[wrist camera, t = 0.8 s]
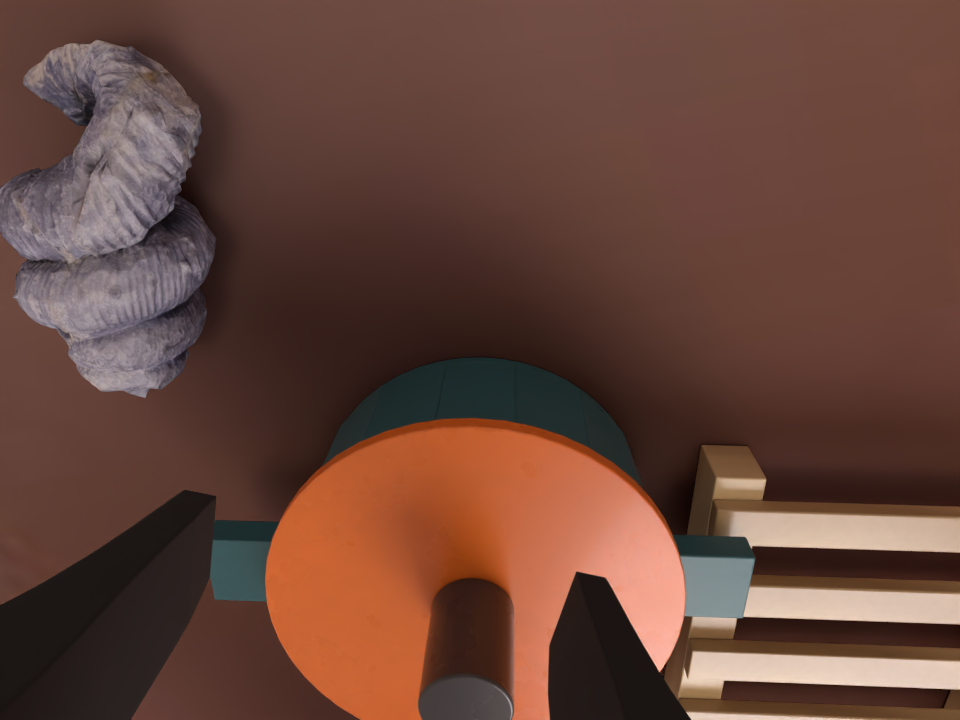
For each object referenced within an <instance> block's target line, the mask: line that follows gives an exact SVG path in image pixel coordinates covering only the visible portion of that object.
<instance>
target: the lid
mask: <svg viewBox="0 0 960 720" xmlns="http://www.w3.org/2000/svg"><path fill="white" fill-rule="evenodd" d="M576 571H577V572H582V573H586V574H591V575H596V576H601V577H606V579H607V580H608V582H609V584H610V585H611V587H612V589H613V591H614V593H615V595H616V597H617V598H618V600H619V602H620V604H621V606H622V608H623V610H624V611H625V613H626V615H627V617H628V619H629V620H630V622H631V624H632V626H633V628H634V629H635V631H636V633H637V635H638V637H639V638H640V640H641V642H642V644H643V645H644V647H645V649H646V650H647V652H648V654H649V655H650V657H651V659H652V660H653V662H654V664H655V665H656V667H657V669H658V670H659V672H661V670H662V668H663V667H664V665H665V664H666V662H667V661H668V659H669V658H670V656H671V654H672V651H673V649H674V647H675V645H676V642H677V640H678V638H679V635H680V631H681V627H682V623H683V619H684V615H685V604H686V585H685V575H684V569H683V566H682V562H681V558H680V555H679V551H678V548H677V545H676V541H675V539H674V537H673V535H672V533H671V530H670V528H669V526H668V524H667V522H666V520H665V518H664V517H663V515H662V514H661V512H660V511H659V509H658V508H657V506H656V505H655V503H654V502H653V500H652V499H651V498H650V497H649V496H648V495H647V494H646V492H645V491H644V490H643V489H642V488H641V487H640V486H639V485H638V484H637V483H636V481H635V480H633V479H632V478H631V477H630V476H629V475H627V474H626V473H625V472H624V471H623V470H621V469H620V468H619V467H618V466H616V465H615V464H614V463H613V462H611V461H609V460H608V459H606V458H605V457H603V456H601V455H600V454H598V453H597V452H595V451H593V450H592V449H590V448H588V447H586V446H584V445H582V444H580V443H578V442H575V441H573V440H571V439H569V438H567V437H565V436H562V435H559V434H556V433H553V432H550V431H547V430H544V429H541V428H538V427H535V426H530V425H525V424H520V423H515V422H510V421H505V420H493V419H481V418H457V419H440V420H433V421H427V422H420V423H414V424H410V425H406V426H403V427H399V428H395V429H392V430H388V431H385V432H383V433H380V434H378V435H375V436H373V437H371V438H368V439H366V440H363V441H361V442H359V443H357V444H355V445H354V446H352V447H350V448H349V449H347V450H345V451H343V452H342V453H340V454H338V455H336V456H335V457H334V458H333V459H331V460H330V461H329V462H327V463H326V464H325V465H324V466H322V467H321V468H320V469H319V470H317V471H316V472H315V473H314V474H313V475H312V476H311V477H310V478H309V479H308V480H307V482H306V483H305V484H304V485H303V486H302V487H301V488H300V489H299V490H298V492H297V493H296V495H295V496H294V498H293V499H292V501H291V502H290V503H289V505H288V506H287V508H286V510H285V512H284V514H283V516H282V518H281V520H280V522H279V524H278V527H277V529H276V531H275V533H274V535H273V537H272V541H271V545H270V548H269V552H268V556H267V562H266V573H265V586H266V599H267V604H268V609H269V613H270V617H271V621H272V623H273V626H274V628H275V631H276V633H277V635H278V638H279V640H280V642H281V644H282V645H283V647H284V649H285V651H286V652H287V654H288V656H289V657H290V659H291V660H292V662H293V663H294V664H295V665H296V667H297V668H298V669H299V670H300V672H301V673H302V674H303V675H304V677H305V678H306V679H308V680H309V681H310V682H311V683H312V684H313V685H314V686H315V687H316V688H317V689H318V690H319V691H320V692H321V693H322V694H323V695H325V696H326V697H327V698H329V699H330V700H331V701H332V702H334V703H335V704H336V705H338V706H339V707H341V708H342V709H344V710H345V711H347V712H349V713H350V714H352V715H354V716H355V717H357V718H359V719H361V720H550V714H549V703H548V666H549V644H550V642H551V639H552V636H553V633H554V631H555V628H556V625H557V623H558V620H559V617H560V614H561V612H562V609H563V606H564V603H565V601H566V598H567V595H568V592H569V590H570V587H571V584H572V581H573V579H574V576H575V573H576Z"/></svg>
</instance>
